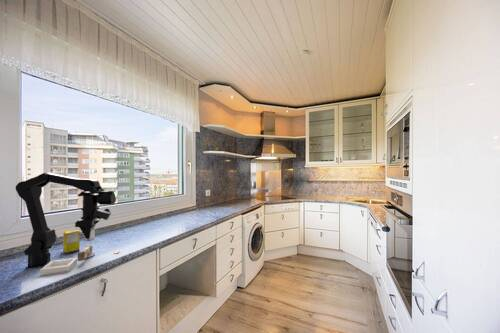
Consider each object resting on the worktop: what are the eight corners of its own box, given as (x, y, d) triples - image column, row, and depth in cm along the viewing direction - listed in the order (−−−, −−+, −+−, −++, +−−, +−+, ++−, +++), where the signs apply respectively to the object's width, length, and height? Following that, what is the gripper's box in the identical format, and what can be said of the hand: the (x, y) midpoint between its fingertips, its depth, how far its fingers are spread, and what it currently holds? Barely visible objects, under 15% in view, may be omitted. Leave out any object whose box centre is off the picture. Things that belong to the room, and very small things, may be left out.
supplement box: (76, 248, 120) (77, 229, 120) (79, 251, 116) (79, 230, 116) (62, 251, 115) (63, 231, 116) (65, 254, 111) (65, 233, 112)
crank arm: (85, 252, 110) (86, 244, 110) (92, 252, 111) (93, 244, 111) (76, 263, 97) (76, 253, 97) (84, 261, 98) (84, 252, 98)
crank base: (80, 258, 105) (80, 256, 105) (84, 255, 110) (84, 253, 110) (118, 253, 111) (118, 252, 111) (119, 250, 116) (119, 248, 116)
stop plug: (82, 241, 100) (83, 228, 100) (85, 239, 104) (86, 226, 104) (93, 240, 102) (93, 227, 102) (95, 238, 105) (95, 225, 106)
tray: (39, 276, 88) (39, 269, 88) (51, 266, 97) (51, 261, 97) (68, 271, 91) (68, 265, 91) (77, 263, 100) (77, 257, 100)
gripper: (105, 206, 98) (104, 241, 97) (113, 201, 115) (112, 230, 114) (75, 208, 93) (74, 244, 93) (88, 202, 111) (87, 233, 110)
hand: (89, 237), depth 103 cm, fingers closed on stop plug, 4 cm apart
